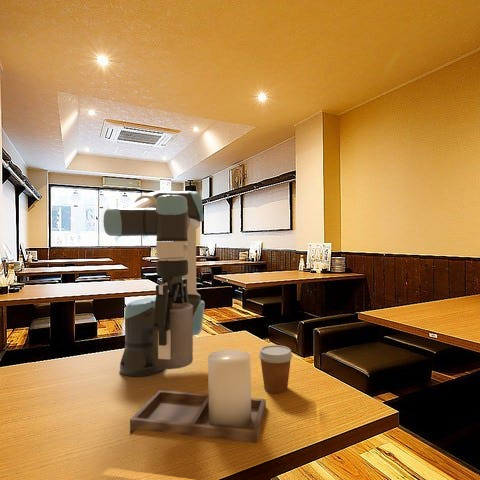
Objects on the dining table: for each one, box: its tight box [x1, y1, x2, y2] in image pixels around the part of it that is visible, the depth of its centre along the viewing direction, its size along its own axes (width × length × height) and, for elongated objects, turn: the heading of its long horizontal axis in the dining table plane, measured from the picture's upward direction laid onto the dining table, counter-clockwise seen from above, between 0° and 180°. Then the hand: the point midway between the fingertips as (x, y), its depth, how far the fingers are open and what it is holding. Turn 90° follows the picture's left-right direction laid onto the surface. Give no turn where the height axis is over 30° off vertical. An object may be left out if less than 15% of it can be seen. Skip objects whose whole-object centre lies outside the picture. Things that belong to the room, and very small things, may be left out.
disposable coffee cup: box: [258, 344, 293, 395], centre depth 95 cm, size 10×10×12 cm
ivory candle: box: [207, 348, 252, 429], centre depth 79 cm, size 10×10×15 cm
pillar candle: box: [153, 303, 194, 370], centre depth 82 cm, size 10×10×15 cm
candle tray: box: [129, 389, 267, 443], centre depth 80 cm, size 29×15×3 cm, turn 78°
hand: (173, 351), depth 82 cm, fingers closed on pillar candle, 10 cm apart
